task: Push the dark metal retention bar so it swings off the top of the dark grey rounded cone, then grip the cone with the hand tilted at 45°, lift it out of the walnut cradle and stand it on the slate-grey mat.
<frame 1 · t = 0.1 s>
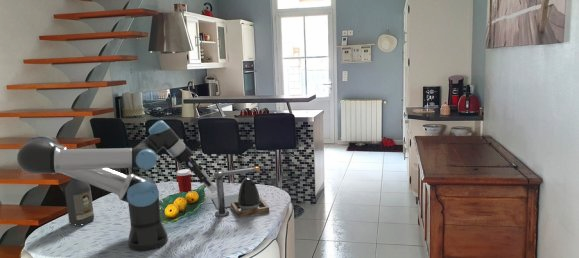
hand: (212, 186, 203), 15 cm above the table, tool tilted 35°, fingers open, 13 cm apart
clip: (237, 171, 210), point 19 cm above the table, hinge at 0.0°
mat: (230, 201, 227), on the table
dark grey rounded cone: (249, 210, 215), resting in cradle
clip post: (222, 214, 211), on the table
paper cup: (185, 197, 237), on the table
liquor: (82, 222, 210), on the table
cradle: (249, 209, 215), on the table
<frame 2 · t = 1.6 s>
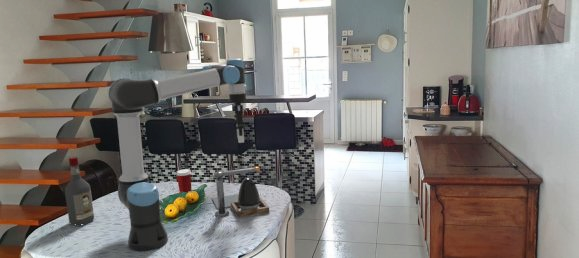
hand: (240, 139, 215), 32 cm above the table, tool pointing down, fingers open, 11 cm apart
nothing on the table moved.
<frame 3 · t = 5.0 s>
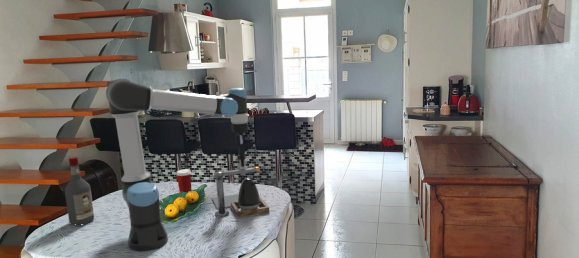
hand: (243, 172, 213), 18 cm above the table, tool pointing down, fingers closed
clip: (237, 171, 210), point 19 cm above the table, hinge at 0.0°, touching gripper
everything else where it was.
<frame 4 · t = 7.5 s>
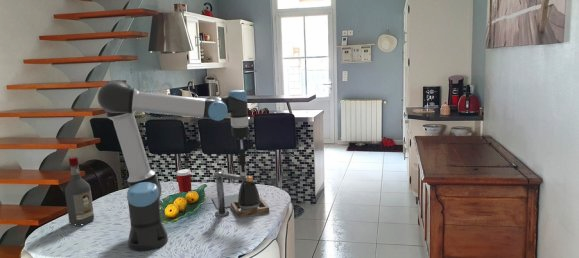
hand: (243, 178, 203), 18 cm above the table, tool pointing down, fingers closed
clip: (233, 176, 203), point 19 cm above the table, hinge at -51.9°, touching gripper
everything else where it was.
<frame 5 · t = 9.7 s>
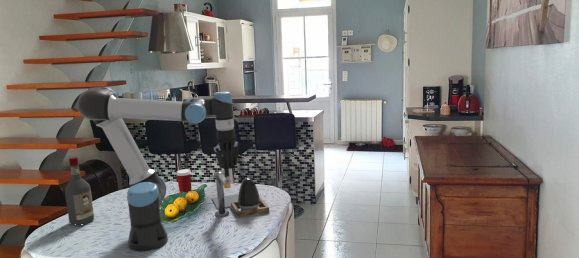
hand: (229, 182, 197), 18 cm above the table, tool pointing down, fingers closed
clip: (222, 179, 200), point 19 cm above the table, hinge at -88.8°, touching gripper
everything else where it was.
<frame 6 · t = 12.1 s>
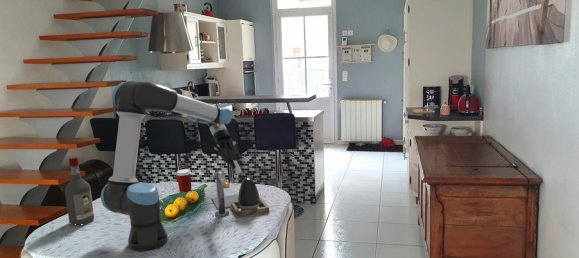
hand: (239, 173, 217), 16 cm above the table, tool tilted 45°, fingers closed
clip: (222, 179, 200), point 19 cm above the table, hinge at -90.4°
everything else where it was.
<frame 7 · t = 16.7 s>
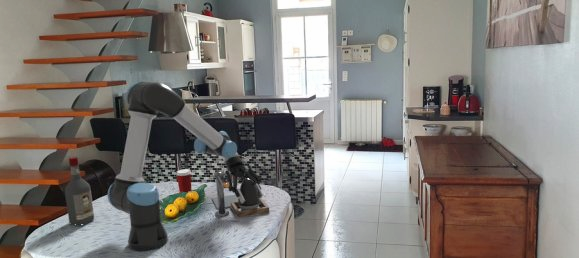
hand: (252, 199, 211), 6 cm above the table, tool tilted 45°, fingers closed on dark grey rounded cone, 9 cm apart
dark grey rounded cone: (249, 210, 215), resting in cradle, touching gripper
everything else where it was.
when the fingers open (8 cm above the table, at t = 23.7 s): dark grey rounded cone drops 1 cm, resting on mat.
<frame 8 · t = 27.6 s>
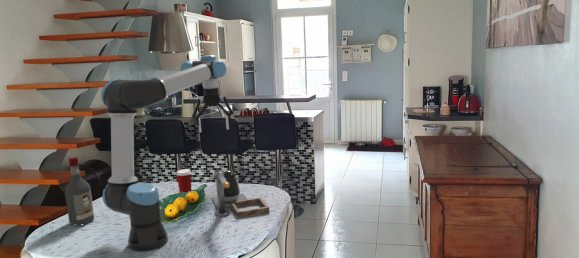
hand: (214, 130, 228), 35 cm above the table, tool pointing down, fingers open, 13 cm apart
dark grey rounded cone: (230, 200, 227), resting on mat
everything else where it was.
at the end: clip at -90° (first picture: +0°); dark grey rounded cone inside the target area on the mat (0.3 cm from its centre), point 0.4 cm above the mat's base; dark grey rounded cone tilted 0° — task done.
